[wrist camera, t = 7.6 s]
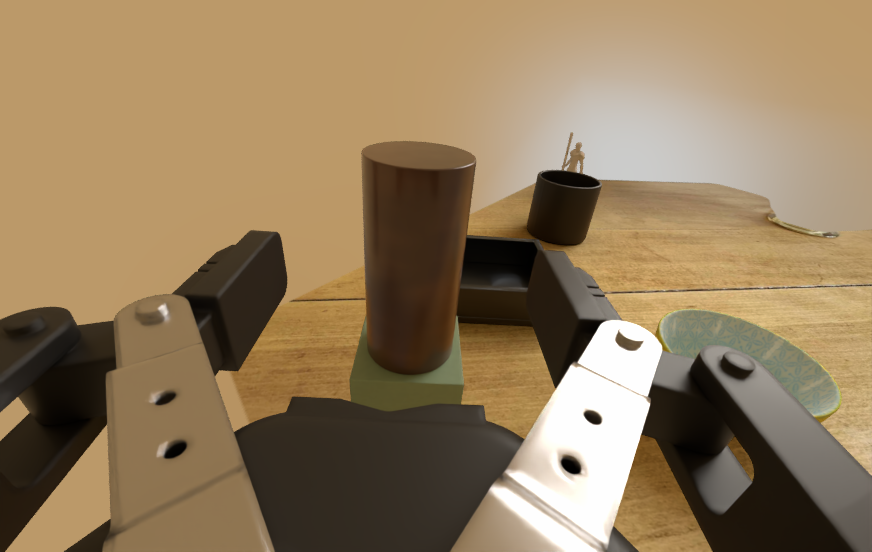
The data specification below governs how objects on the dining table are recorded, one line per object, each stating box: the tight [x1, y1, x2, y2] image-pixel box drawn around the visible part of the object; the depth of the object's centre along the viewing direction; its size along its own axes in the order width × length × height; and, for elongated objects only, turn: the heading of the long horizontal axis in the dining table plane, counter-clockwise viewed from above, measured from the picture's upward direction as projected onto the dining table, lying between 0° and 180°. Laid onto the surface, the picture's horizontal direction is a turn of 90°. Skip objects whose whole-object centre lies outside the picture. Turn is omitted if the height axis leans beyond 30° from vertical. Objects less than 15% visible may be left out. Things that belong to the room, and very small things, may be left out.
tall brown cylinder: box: [361, 141, 476, 375], centre depth 19 cm, size 5×5×11 cm
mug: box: [527, 170, 602, 245], centre depth 59 cm, size 9×12×9 cm
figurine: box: [562, 132, 584, 174], centre depth 77 cm, size 5×5×12 cm
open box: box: [456, 235, 544, 326], centre depth 43 cm, size 13×13×4 cm
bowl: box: [655, 309, 842, 423], centre depth 29 cm, size 11×12×6 cm
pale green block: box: [350, 316, 464, 411], centre depth 24 cm, size 6×6×9 cm
